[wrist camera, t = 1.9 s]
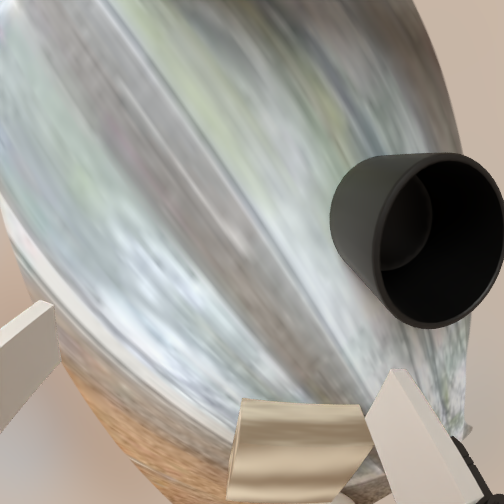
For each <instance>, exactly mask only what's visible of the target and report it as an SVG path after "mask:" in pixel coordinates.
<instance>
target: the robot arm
mask: <svg viewBox="0 0 504 504" xmlns="http://www.w3.org/2000/svg"><path fill="white" fill-rule="evenodd" d="M60 362H61V355H60V349H59V342H58V335H57V328H56V319H55V309H54V305H53V304H50V303H47V302H45V301H42V300H39V301H38V302H36V303H35V304H33V305H32V306H31V307H29V308H28V309H26V310H25V311H24V312H22V313H21V314H19V315H18V316H17V317H15V318H14V319H13V320H11V321H10V322H9V323H7V324H6V325H4V326H3V327H2V328H1V329H0V434H1V433H2V431H3V430H4V429H5V428H6V426H7V425H8V424H9V422H10V421H11V420H12V419H13V417H14V416H15V415H16V414H17V413H18V411H19V410H20V409H21V408H22V406H23V405H24V404H25V403H26V402H27V400H28V399H29V398H30V397H31V396H32V394H33V393H34V392H35V391H36V390H37V388H38V387H39V386H40V385H41V384H42V383H43V381H44V380H45V379H46V378H47V377H48V376H49V375H50V374H51V372H52V371H53V370H54V369H55V368H56V367H57V366H58V365H59V363H60ZM365 421H366V423H367V426H368V429H369V431H370V434H371V436H372V439H373V442H374V444H375V447H376V449H377V452H378V455H379V457H380V460H381V463H382V465H383V468H384V471H385V474H386V476H387V479H388V482H389V485H390V488H391V490H392V493H393V496H394V499H395V502H396V504H504V495H503V494H496V495H493V494H492V493H491V491H490V490H489V488H488V486H487V484H486V483H485V481H484V479H483V477H482V476H481V474H480V472H479V471H478V469H477V467H476V465H473V463H474V462H473V460H472V459H471V457H469V454H468V452H467V451H466V449H465V447H464V446H463V444H462V443H460V442H459V441H458V440H457V439H456V438H455V437H454V436H452V437H450V436H449V434H448V433H447V431H446V429H445V428H444V426H443V425H442V423H441V421H440V420H439V418H438V417H437V415H436V414H435V412H434V410H433V409H432V407H431V406H430V404H429V403H428V401H427V400H426V398H425V397H424V395H423V394H422V392H421V391H420V389H419V388H418V386H417V385H416V383H415V382H414V380H413V379H412V377H411V376H410V374H409V373H408V371H407V370H406V369H390V371H389V373H388V376H387V378H386V380H385V381H384V383H383V385H382V387H381V389H380V391H379V393H378V395H377V397H376V399H375V401H374V402H373V404H372V406H371V408H370V410H369V411H368V413H367V415H366V417H365Z"/></svg>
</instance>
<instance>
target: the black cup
mask: <svg viewBox="0 0 504 504" xmlns="http://www.w3.org/2000/svg"><path fill="white" fill-rule="evenodd" d="M330 230H331V236H332V239H333V242H334V244H335V247H336V249H337V251H338V253H339V254H340V256H341V257H342V258H343V260H344V261H345V262H346V263H347V264H348V265H349V266H350V267H351V268H352V269H353V271H354V272H355V273H356V274H357V275H358V276H359V277H360V278H361V279H362V281H363V282H364V283H365V284H366V285H367V286H368V287H369V288H370V290H371V291H372V292H373V293H374V294H375V295H376V296H377V298H378V299H379V300H380V301H381V302H382V303H383V304H384V306H385V307H386V308H387V309H388V310H389V311H390V312H391V313H392V314H393V315H394V316H395V317H396V318H397V319H399V320H400V321H402V322H403V323H405V324H408V325H410V326H413V327H416V328H422V329H436V328H441V327H445V326H448V325H450V324H453V323H455V322H457V321H459V320H460V319H462V318H464V317H465V316H467V315H468V314H469V313H470V312H472V311H473V310H474V309H475V308H476V307H477V306H478V305H479V304H480V303H481V302H482V300H483V299H484V298H485V297H486V295H487V294H488V293H489V291H490V289H491V288H492V286H493V284H494V283H495V281H496V279H497V276H498V274H499V272H500V269H501V266H502V263H503V260H504V200H503V198H502V195H501V192H500V190H499V188H498V186H497V185H496V182H495V181H494V179H493V178H492V176H491V175H490V174H489V173H488V172H487V170H486V169H484V168H483V167H482V166H481V165H480V164H479V163H477V162H476V161H474V160H473V159H471V158H469V157H467V156H464V155H461V154H457V153H419V154H400V155H385V156H376V157H372V158H369V159H367V160H364V161H362V162H361V163H359V164H357V165H356V166H355V167H353V168H352V169H351V170H350V171H349V172H348V173H347V174H346V175H345V176H344V177H343V179H342V181H341V182H340V184H339V185H338V187H337V189H336V192H335V194H334V196H333V200H332V203H331V209H330Z"/></svg>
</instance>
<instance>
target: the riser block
mask: <svg viewBox="0 0 504 504" xmlns="http://www.w3.org/2000/svg"><path fill="white" fill-rule="evenodd" d="M373 446H374V442H373V439H372V437H371V434H370V431H369V429H368V426H367V423H366V421H365V418H364V415H363V413H362V410H361V408H360V405H331V404H304V403H288V402H276V401H265V400H256V399H247V398H242V402H241V407H240V412H239V416H238V421H237V426H236V431H235V436H234V441H233V446H232V450H231V455H230V460H229V467H228V478H227V490H226V500H228V501H237V502H250V503H268V504H309V503H327V502H332V501H333V499H334V498H335V497H336V496H337V495H338V493H339V492H340V491H341V490H342V488H343V487H344V486H345V485H346V483H347V482H348V481H349V480H350V478H351V477H352V476H353V474H354V473H355V472H356V470H357V469H358V468H359V466H360V465H361V463H362V462H363V461H364V459H365V458H366V456H367V455H368V453H369V452H370V451H371V449H372V448H373Z"/></svg>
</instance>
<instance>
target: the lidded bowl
mask: <svg viewBox="0 0 504 504" xmlns="http://www.w3.org/2000/svg"><path fill="white" fill-rule="evenodd" d="M309 504H355V503H354V502H353V501H352V500H351V499H350V498H349V497H348V496H346V495H344V494H342V493H340V492H339V493H338V495H337V496H336V497H335V498H334V499H333V501H332V502H327V503H309Z"/></svg>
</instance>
